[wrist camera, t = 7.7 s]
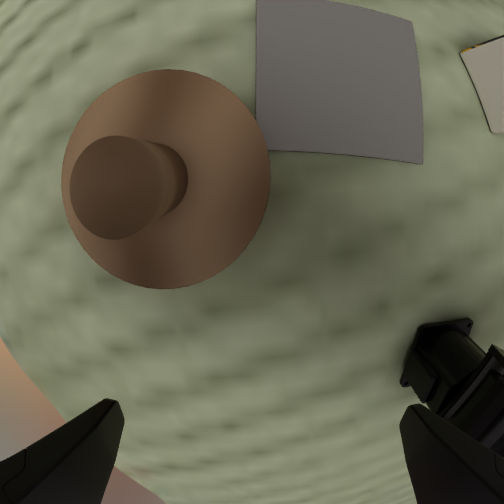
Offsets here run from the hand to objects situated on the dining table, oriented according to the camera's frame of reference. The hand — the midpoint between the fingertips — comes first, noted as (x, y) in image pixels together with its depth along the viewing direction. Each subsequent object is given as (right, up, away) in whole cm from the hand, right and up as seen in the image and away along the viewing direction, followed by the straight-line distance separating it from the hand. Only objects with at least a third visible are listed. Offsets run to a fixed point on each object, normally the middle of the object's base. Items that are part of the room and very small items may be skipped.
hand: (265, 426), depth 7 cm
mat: (+5, +16, +8) cm, 19 cm away
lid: (-5, +8, +5) cm, 11 cm away
